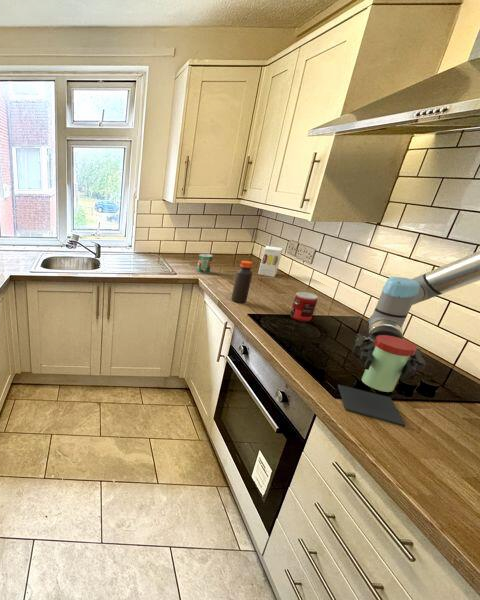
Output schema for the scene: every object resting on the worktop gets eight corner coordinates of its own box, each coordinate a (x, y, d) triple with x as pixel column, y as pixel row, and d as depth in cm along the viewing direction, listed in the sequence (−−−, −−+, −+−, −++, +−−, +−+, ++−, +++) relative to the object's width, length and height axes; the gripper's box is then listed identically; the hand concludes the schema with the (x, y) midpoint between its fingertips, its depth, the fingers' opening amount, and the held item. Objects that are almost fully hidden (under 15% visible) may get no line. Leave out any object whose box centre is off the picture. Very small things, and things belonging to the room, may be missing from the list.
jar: (389, 381, 86) (408, 341, 81) (397, 395, 81) (417, 353, 76) (358, 373, 89) (375, 335, 84) (364, 386, 84) (382, 346, 79)
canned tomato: (212, 273, 199) (215, 256, 195) (200, 273, 198) (203, 256, 194) (205, 269, 206) (208, 253, 202) (194, 270, 205) (197, 253, 201)
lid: (407, 345, 82) (410, 339, 81) (419, 359, 76) (422, 353, 75) (370, 338, 85) (372, 332, 85) (378, 351, 79) (380, 345, 78)
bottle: (231, 302, 156) (239, 262, 148) (231, 297, 161) (239, 259, 154) (246, 304, 153) (255, 264, 145) (246, 299, 159) (254, 261, 151)
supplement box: (257, 274, 197) (263, 248, 191) (259, 271, 204) (265, 245, 198) (274, 277, 192) (281, 250, 186) (276, 273, 199) (283, 247, 193)
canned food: (293, 312, 144) (299, 290, 140) (313, 318, 138) (321, 295, 134) (286, 317, 140) (293, 294, 135) (307, 323, 134) (315, 299, 130)
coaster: (389, 399, 90) (390, 397, 89) (404, 426, 80) (405, 424, 80) (337, 386, 95) (338, 384, 95) (345, 410, 85) (346, 408, 85)
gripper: (426, 359, 90) (437, 400, 74) (340, 337, 102) (334, 367, 86) (437, 336, 87) (451, 373, 71) (348, 316, 99) (343, 344, 83)
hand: (387, 370), depth 79 cm, fingers closed on jar, 7 cm apart
